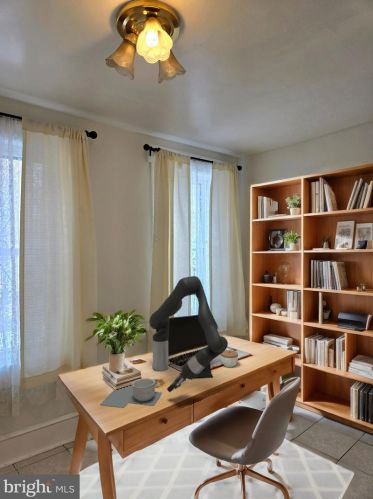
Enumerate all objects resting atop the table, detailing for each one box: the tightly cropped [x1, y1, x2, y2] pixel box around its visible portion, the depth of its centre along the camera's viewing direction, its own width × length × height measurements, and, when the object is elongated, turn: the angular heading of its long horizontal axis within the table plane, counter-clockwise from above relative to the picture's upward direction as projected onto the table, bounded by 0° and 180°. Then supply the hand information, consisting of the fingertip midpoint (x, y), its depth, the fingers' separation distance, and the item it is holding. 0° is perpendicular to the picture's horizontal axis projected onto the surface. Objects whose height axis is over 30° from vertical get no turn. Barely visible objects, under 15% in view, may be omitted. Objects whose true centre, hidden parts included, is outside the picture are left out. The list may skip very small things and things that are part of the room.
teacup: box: [131, 377, 159, 401], centre depth 154 cm, size 14×11×8 cm
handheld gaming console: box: [193, 362, 214, 380], centre depth 180 cm, size 12×7×10 cm
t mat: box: [99, 384, 163, 409], centre depth 155 cm, size 22×25×1 cm
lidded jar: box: [220, 349, 239, 368], centre depth 194 cm, size 11×11×9 cm
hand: (168, 390), depth 151 cm, fingers closed
